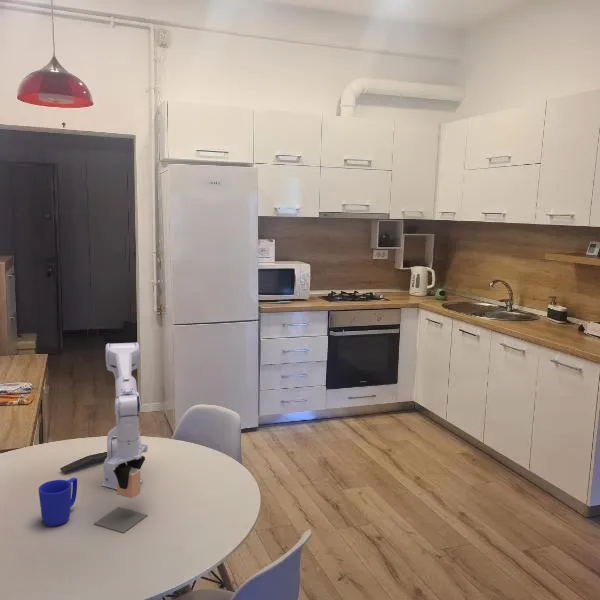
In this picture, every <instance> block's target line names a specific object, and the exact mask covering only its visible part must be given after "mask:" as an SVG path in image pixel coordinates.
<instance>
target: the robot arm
mask: <svg viewBox="0 0 600 600" xmlns="http://www.w3.org/2000/svg"><path fill="white" fill-rule="evenodd" d="M140 350H141V349H140V344H139V343H138V342H137V341H136V342H123V343H122V342H121V343H120V342H118V343H109V342H108V343H107V344H105V363H106V364H105V366H106V370H107V371H109V372H112V373H113V374H112V375H113V376H114V380H115V381H114V382H115V385H114V386H115V387H114V388H115V398H114V413H115V421H116V425H115V426H114V427H113V428H111V429H110V430H109V431H108V433H107V437H106V438H107V439H106V452H107V455H106V456H107V457H106V458H105V459H104V462H103V483H102V484H101V486H102V487H105V488H109V489H112V490H116V491H117V480H118V483H119V487H120V488H122V489H127V486H128V477H129V472H130V469H131V467H133V468H137V469H140V470H141V468H142V466H143V464H144V463H145V461H146V456H144V455H142V454H143V453H147V452H148V451H149V450H148V448H149V447H148V446H149V445H148V444H144V443H142V439H141V438H142V437H141V431H140V430H139V429H140V427H139V426H140V424H139V423H140V419H139V416H140V415H141V411H142V405H141V403H142V402H141V397H140V396H141V395H140V393H139V391H138V387H137V386H138V385H137V381H136V378H135V377H134V376H133V375H132V372H133V371H134V370H135V371H136V370H137V369H138V366H139V365H140V364H139V363H140ZM141 483H143V480H142V479H140V484H141Z"/></svg>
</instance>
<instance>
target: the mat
mask: <svg viewBox="0 0 600 600" xmlns="http://www.w3.org/2000/svg"><path fill="white" fill-rule="evenodd" d="M147 517H148V514H145V513H142V512H139V511H135V510H131V509H128V508H124V507H121V506H118V507H116V508H115V509H113V510H112V511H110V512H109V513H107V514H106V515H104V516H103V517H102V518H100V519H98V520H96V521H95V522H94V523H93V525H94V526H98V527H102V528H105V529H108V530H111V531H115V532H118V533H121V534H125V533H127V532H128V531H129V530H131V529H132V528H133V527H134V526H136V525H137V524H139V523H140V522H141V521H143V520H145V518H147Z"/></svg>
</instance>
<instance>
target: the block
mask: <svg viewBox="0 0 600 600" xmlns="http://www.w3.org/2000/svg"><path fill="white" fill-rule="evenodd" d="M140 480H141V469H137V468H133V467H131V469H130V472H129V477H128V486H127V489H122V488H120V487H119V483H118V480H117V490H116V491H117V493H116V494H117V495H118V496H121V497H125V498H129V499H134V498H135V497H136V496H138V495H139V494H141V483H140Z"/></svg>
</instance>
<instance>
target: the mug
mask: <svg viewBox="0 0 600 600" xmlns="http://www.w3.org/2000/svg"><path fill="white" fill-rule="evenodd" d="M77 490H78V478H77V477H71V478H70V479H68V480H67V479H55V480H48V481H46V482H44V483H42V484H41V485H40V486H39V487H38V496H39V505H40V513H41V520H42V523H43V524H44V525H45V526H48V527H56V526H61V525H63V524H65V523H66V522H68V520H69V519H70V516H71V515H70V514H71V507H73V506H74V504H75V502H76V499H77V492H78V491H77Z"/></svg>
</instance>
